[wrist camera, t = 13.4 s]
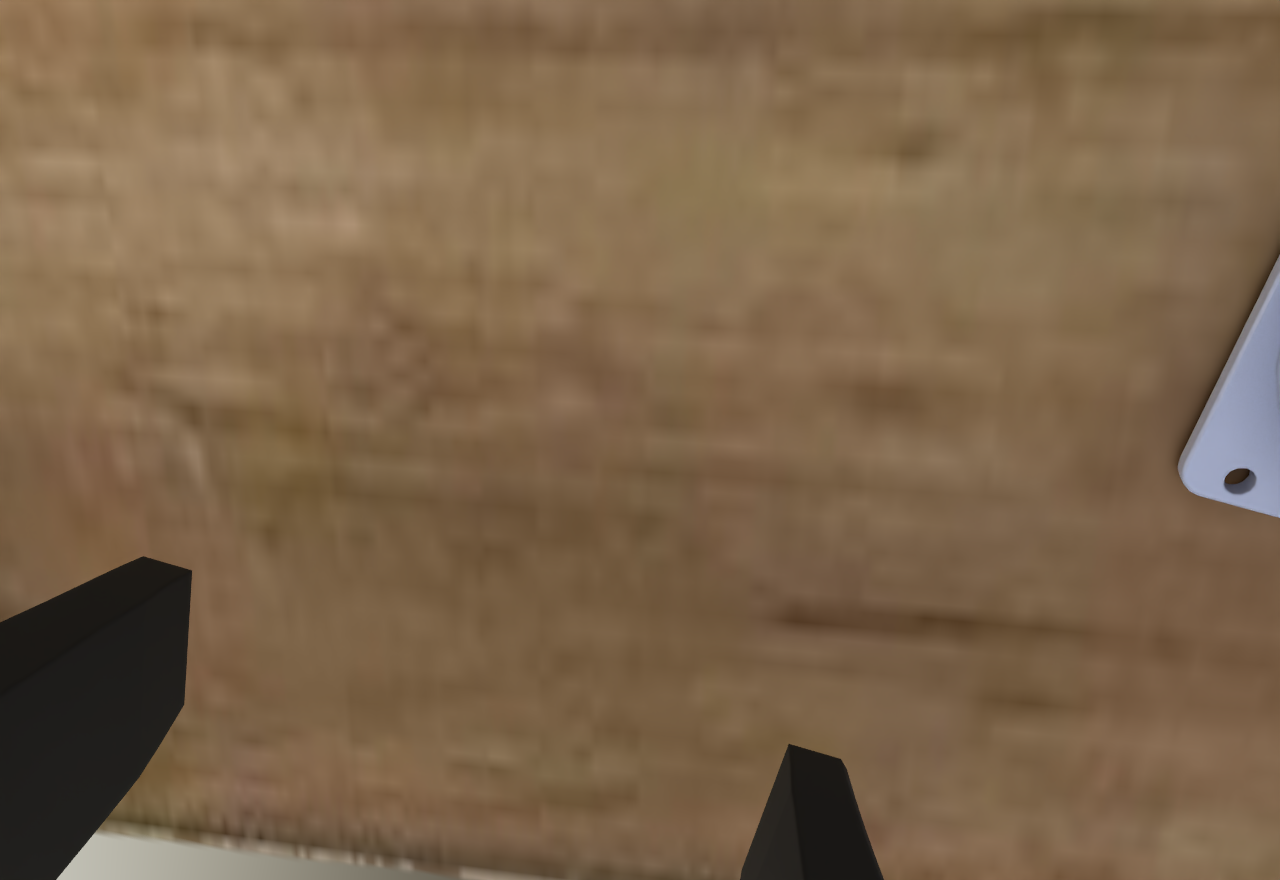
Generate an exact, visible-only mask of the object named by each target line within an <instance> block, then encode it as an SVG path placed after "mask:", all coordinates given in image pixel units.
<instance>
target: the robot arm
mask: <svg viewBox="0 0 1280 880" xmlns="http://www.w3.org/2000/svg"><path fill="white" fill-rule="evenodd" d="M1237 468H1247V469H1249V470H1250V472H1249V476H1248V477H1247V478H1246V479H1245V480H1244V481H1242V482H1240V483H1237V484H1227V483H1225V482H1224V480H1225V477H1226V476H1227V475H1228V473H1229V472H1230V471H1233V470H1235V469H1237ZM1178 471H1179V475H1180V478H1181V480H1182V482H1183V484H1184V485H1185V486H1186V487H1187V489H1188V490H1189V491H1190V492H1192V493H1194V494H1196V495H1198V496H1201V497H1205V498H1209V499H1212V500H1216V501H1220V502H1223V503H1227V504H1230V505H1234V506H1238V507H1241V508H1245V509H1249V510H1252V511H1256V512H1260V513H1263V514H1267V515H1271V516H1274V517H1278V518H1280V255H1279V257H1278V259H1277V261H1276V263H1275V265H1274V267H1273V269H1272V271H1271V273H1270V275H1269V277H1268V279H1267V281H1266V283H1265V286H1264V288H1263V290H1262V292H1261V294H1260V296H1259V298H1258V300H1257V302H1256V304H1255V306H1254V308H1253V310H1252V312H1251V314H1250V316H1249V318H1248V320H1247V322H1246V324H1245V326H1244V328H1243V330H1242V332H1241V334H1240V336H1239V338H1238V340H1237V343H1236V345H1235V347H1234V349H1233V351H1232V353H1231V355H1230V357H1229V359H1228V361H1227V363H1226V365H1225V367H1224V369H1223V371H1222V373H1221V375H1220V377H1219V379H1218V381H1217V383H1216V385H1215V387H1214V389H1213V391H1212V393H1211V395H1210V397H1209V400H1208V402H1207V404H1206V406H1205V408H1204V410H1203V412H1202V414H1201V416H1200V418H1199V420H1198V422H1197V424H1196V426H1195V428H1194V430H1193V432H1192V434H1191V436H1190V438H1189V440H1188V442H1187V444H1186V446H1185V448H1184V450H1183V452H1182V454H1181V457H1180V460H1179V464H1178ZM191 580H192V570H188V569H185V568H181V567H178V566H175V565H171V564H168V563H164V562H161V561H157V560H154V559H151V558H147V557H144V556H143V557H140V558H138V559H136V560H134V561H131V562H129V563H127V564H124V565H122V566H120V567H118V568H116V569H113V570H111V571H109V572H107V573H105V574H103V575H101V576H99V577H96V578H94V579H92V580H90V581H88V582H86V583H84V584H82V585H80V586H78V587H75V588H73V589H71V590H69V591H67V592H65V593H63V594H61V595H59V596H57V597H54V598H52V599H50V600H48V601H46V602H44V603H42V604H39V605H37V606H35V607H33V608H31V609H29V610H26V611H24V612H22V613H20V614H18V615H15V616H13V617H11V618H9V619H7V620H5V621H2V622H0V880H56V879H57V878H58V877H59V875H60V874H61V873H62V872H63V871H64V869H65V868H66V867H67V866H68V865H69V863H70V862H71V861H72V860H73V858H74V857H75V856H76V855H77V854H78V852H79V851H80V850H81V849H82V847H83V846H84V845H85V844H86V843H87V841H88V840H89V839H90V838H91V837H92V835H93V834H94V833H95V832H96V830H97V829H98V828H99V827H100V825H101V824H102V823H103V822H104V821H105V819H106V818H107V817H108V816H109V814H110V813H111V812H112V811H113V809H114V808H115V807H116V806H117V804H118V803H119V802H120V801H121V799H122V798H123V797H124V796H125V794H126V793H127V792H128V791H129V789H130V788H131V787H132V786H133V784H134V783H135V782H136V781H137V779H138V778H139V777H140V775H141V773H142V772H143V770H144V769H145V767H146V766H147V764H148V763H149V761H150V759H151V758H152V756H153V755H154V753H155V752H156V750H157V749H158V747H159V745H160V744H161V742H162V740H163V739H164V737H165V735H166V734H167V732H168V731H169V729H170V727H171V726H172V724H173V722H174V721H175V719H176V717H177V716H178V714H179V712H180V711H181V709H182V707H183V706H184V698H185V681H186V664H187V647H188V630H189V614H190V597H191ZM740 880H884V879H883V876H882V873H881V871H880V868H879V865H878V863H877V860H876V857H875V855H874V852H873V849H872V846H871V843H870V841H869V838H868V835H867V832H866V829H865V826H864V823H863V820H862V817H861V814H860V811H859V808H858V805H857V802H856V799H855V796H854V792H853V789H852V786H851V782H850V779H849V775H848V772H847V769H846V767H845V765H844V764H843V762H842V760H841V759H839V758H835V757H832V756H829V755H825V754H822V753H818V752H815V751H811V750H808V749H805V748H801V747H798V746H794V745H791V744H789V745H788V748H787V750H786V753H785V756H784V758H783V761H782V764H781V766H780V769H779V772H778V774H777V777H776V780H775V782H774V785H773V788H772V790H771V793H770V796H769V798H768V801H767V804H766V807H765V809H764V812H763V815H762V817H761V820H760V823H759V825H758V828H757V831H756V833H755V836H754V839H753V841H752V844H751V847H750V849H749V852H748V855H747V857H746V860H745V863H744V865H743V868H742V872H741V878H740Z"/></svg>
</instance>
